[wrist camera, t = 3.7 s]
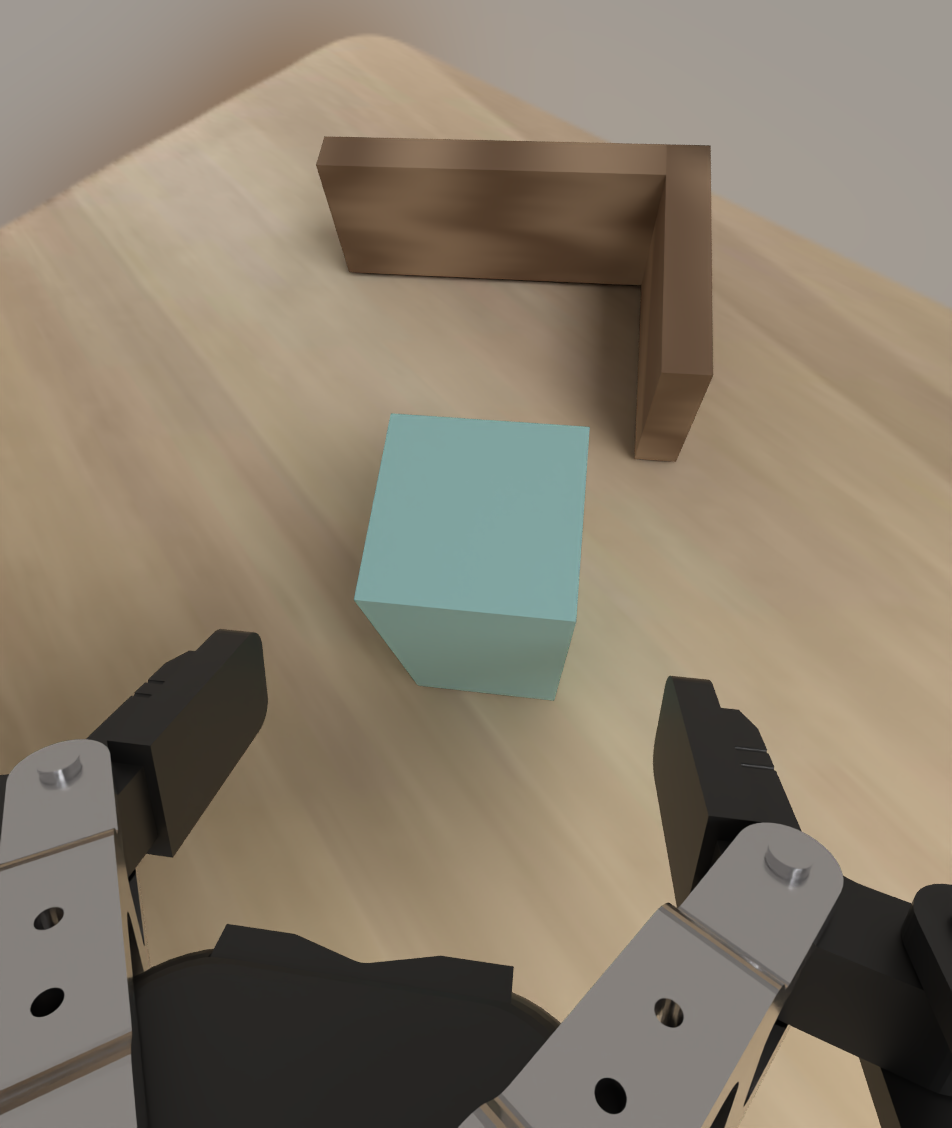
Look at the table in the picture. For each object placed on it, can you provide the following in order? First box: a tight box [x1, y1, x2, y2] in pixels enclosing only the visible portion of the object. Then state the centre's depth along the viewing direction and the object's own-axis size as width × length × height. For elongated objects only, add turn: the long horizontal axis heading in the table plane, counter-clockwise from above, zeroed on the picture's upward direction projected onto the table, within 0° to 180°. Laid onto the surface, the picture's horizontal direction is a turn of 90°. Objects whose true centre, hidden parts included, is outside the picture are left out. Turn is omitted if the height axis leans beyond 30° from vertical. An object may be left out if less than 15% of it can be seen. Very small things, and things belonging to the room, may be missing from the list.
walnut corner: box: [316, 137, 713, 462], centre depth 24 cm, size 14×10×5 cm
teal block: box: [354, 414, 590, 701], centre depth 18 cm, size 4×4×9 cm
